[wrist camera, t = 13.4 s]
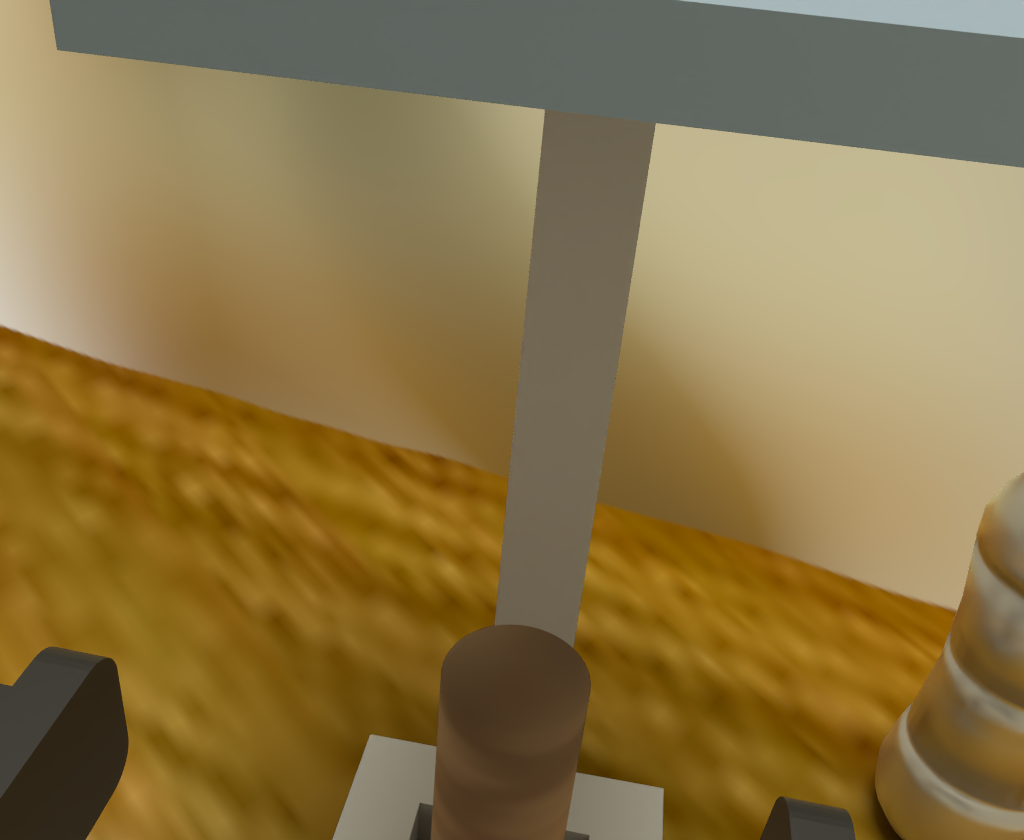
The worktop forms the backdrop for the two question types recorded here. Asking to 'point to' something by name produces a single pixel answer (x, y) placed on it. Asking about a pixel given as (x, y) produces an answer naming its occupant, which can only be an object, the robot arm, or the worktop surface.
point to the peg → (508, 735)
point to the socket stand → (597, 209)
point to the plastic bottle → (968, 704)
